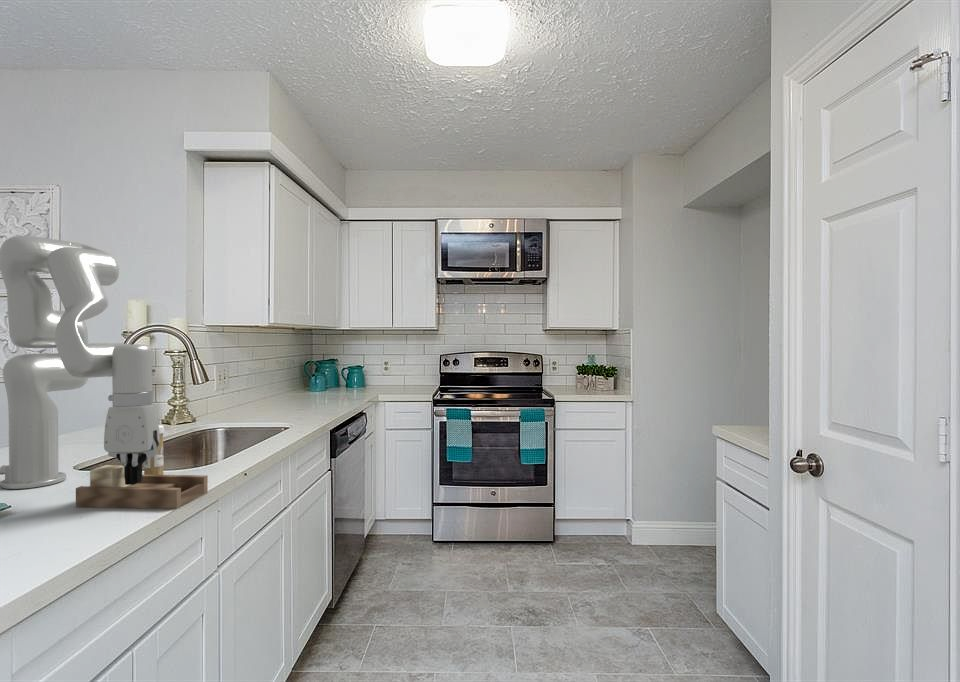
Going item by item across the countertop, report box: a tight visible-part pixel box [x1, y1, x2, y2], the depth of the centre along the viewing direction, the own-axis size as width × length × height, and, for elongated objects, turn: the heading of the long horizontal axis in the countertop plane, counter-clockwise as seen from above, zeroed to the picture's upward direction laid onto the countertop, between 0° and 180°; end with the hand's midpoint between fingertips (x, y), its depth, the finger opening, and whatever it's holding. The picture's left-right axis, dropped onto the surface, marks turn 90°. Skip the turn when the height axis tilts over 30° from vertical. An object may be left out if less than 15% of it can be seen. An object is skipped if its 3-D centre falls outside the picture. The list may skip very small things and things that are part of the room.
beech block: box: [89, 464, 127, 487], centre depth 124 cm, size 5×5×4 cm
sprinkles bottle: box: [143, 424, 165, 475], centre depth 141 cm, size 5×5×14 cm
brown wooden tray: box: [75, 474, 209, 510], centre depth 124 cm, size 22×12×4 cm, turn 87°
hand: (133, 483), depth 124 cm, fingers closed
